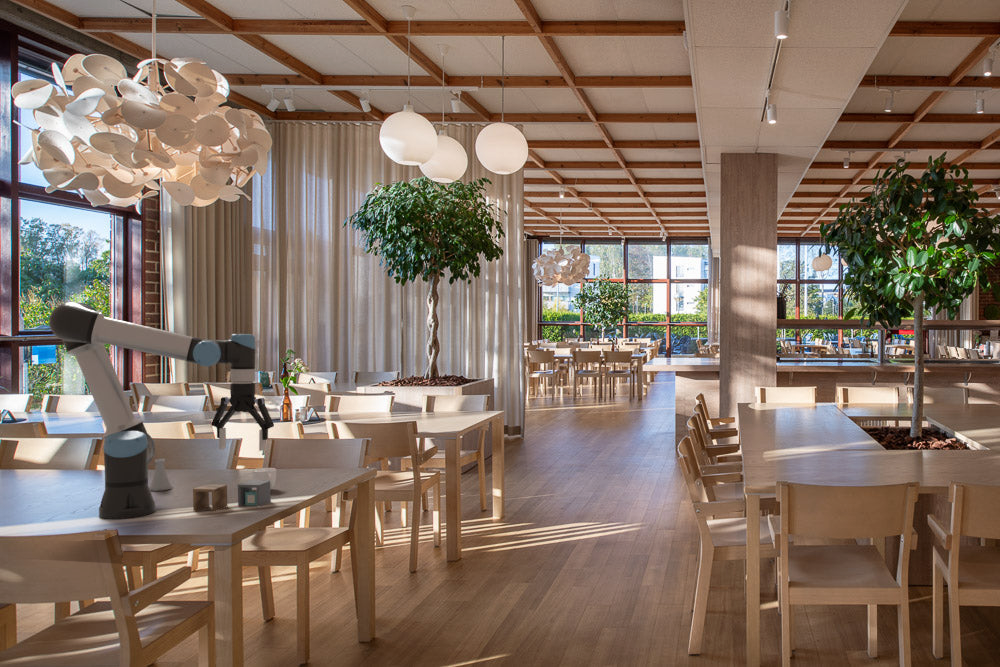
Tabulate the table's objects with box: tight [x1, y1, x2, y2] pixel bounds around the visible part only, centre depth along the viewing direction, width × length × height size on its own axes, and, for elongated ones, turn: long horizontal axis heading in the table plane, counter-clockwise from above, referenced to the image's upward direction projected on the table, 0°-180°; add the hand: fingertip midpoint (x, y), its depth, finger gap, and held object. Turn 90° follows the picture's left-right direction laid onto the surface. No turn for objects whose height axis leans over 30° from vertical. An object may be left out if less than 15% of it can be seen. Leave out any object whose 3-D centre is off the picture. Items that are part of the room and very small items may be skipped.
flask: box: [149, 458, 173, 492], centre depth 292 cm, size 7×7×10 cm
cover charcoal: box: [237, 479, 271, 507], centre depth 266 cm, size 7×7×6 cm
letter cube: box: [244, 489, 257, 506], centre depth 266 cm, size 4×4×4 cm
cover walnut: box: [192, 483, 228, 512], centre depth 260 cm, size 7×7×6 cm
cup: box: [251, 467, 277, 491], centre depth 287 cm, size 8×10×7 cm
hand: (242, 449), depth 276 cm, fingers open, 13 cm apart
